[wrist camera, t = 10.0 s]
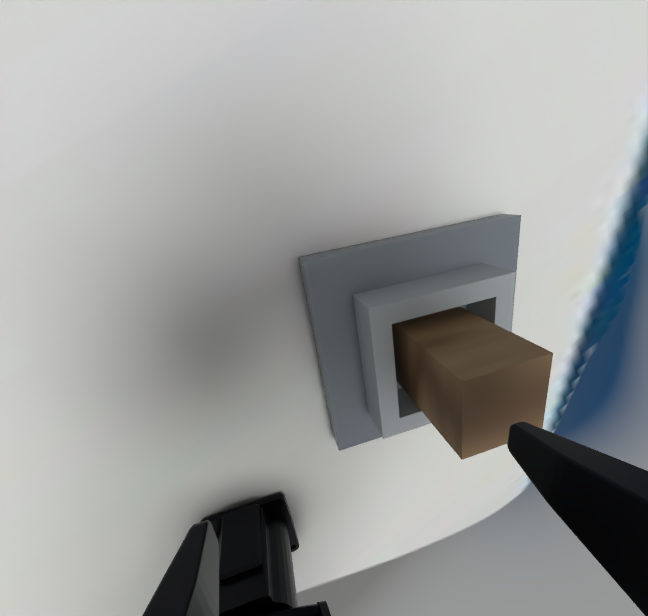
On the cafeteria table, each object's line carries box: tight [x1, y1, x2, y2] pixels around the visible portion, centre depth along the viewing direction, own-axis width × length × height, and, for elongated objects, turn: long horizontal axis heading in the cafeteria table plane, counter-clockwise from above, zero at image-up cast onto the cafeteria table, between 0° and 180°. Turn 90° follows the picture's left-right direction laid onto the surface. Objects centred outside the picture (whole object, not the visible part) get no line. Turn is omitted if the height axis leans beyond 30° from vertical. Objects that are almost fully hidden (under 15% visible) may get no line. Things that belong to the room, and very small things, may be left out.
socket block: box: [299, 214, 521, 451], centre depth 20 cm, size 14×14×4 cm
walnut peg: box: [392, 307, 553, 459], centre depth 17 cm, size 4×4×7 cm
